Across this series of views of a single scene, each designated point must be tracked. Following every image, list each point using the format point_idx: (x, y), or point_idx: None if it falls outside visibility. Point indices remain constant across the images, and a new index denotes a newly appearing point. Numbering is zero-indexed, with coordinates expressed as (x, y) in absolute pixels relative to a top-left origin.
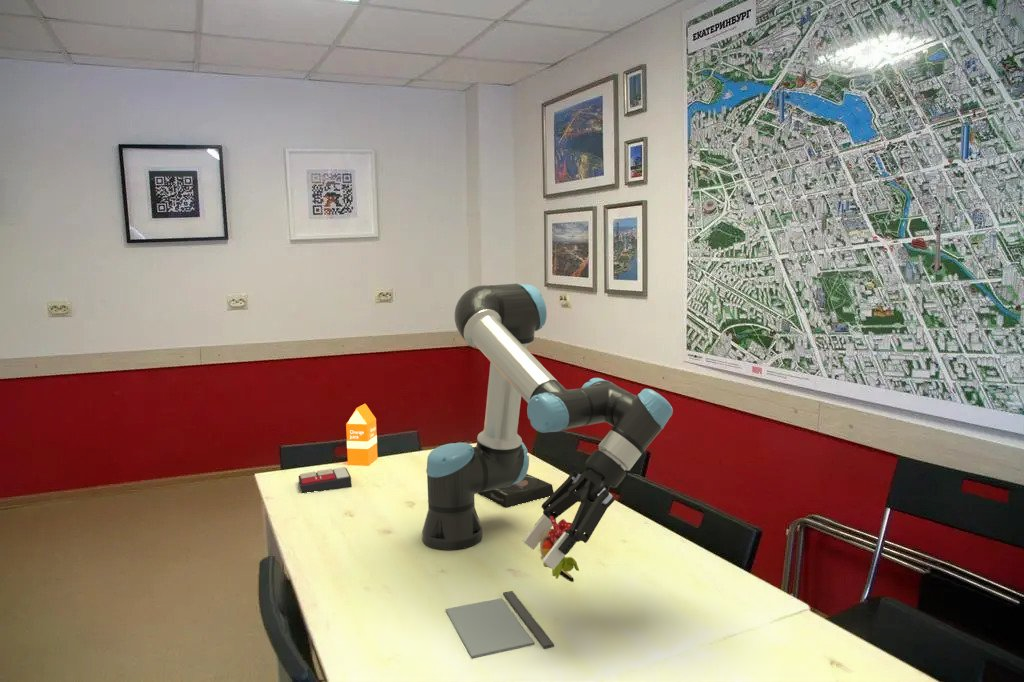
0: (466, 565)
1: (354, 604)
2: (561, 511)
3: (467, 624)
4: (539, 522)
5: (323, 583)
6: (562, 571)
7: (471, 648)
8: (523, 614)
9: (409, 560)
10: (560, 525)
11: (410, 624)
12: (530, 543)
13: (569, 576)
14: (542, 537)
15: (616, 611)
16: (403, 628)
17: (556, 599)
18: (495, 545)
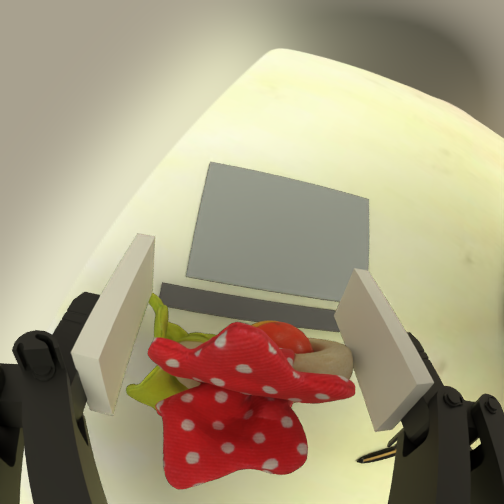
0: (472, 302)
1: (413, 121)
2: (397, 489)
3: (307, 202)
4: (400, 345)
5: (458, 126)
6: (390, 452)
7: (231, 171)
8: (290, 311)
9: (494, 233)
10: (265, 425)
11: (347, 141)
12: (348, 299)
13: (368, 458)
14: (336, 346)
15: (212, 482)
16: (340, 130)
17: (316, 405)
18: (497, 370)
